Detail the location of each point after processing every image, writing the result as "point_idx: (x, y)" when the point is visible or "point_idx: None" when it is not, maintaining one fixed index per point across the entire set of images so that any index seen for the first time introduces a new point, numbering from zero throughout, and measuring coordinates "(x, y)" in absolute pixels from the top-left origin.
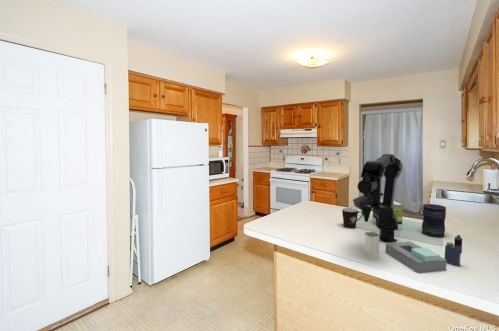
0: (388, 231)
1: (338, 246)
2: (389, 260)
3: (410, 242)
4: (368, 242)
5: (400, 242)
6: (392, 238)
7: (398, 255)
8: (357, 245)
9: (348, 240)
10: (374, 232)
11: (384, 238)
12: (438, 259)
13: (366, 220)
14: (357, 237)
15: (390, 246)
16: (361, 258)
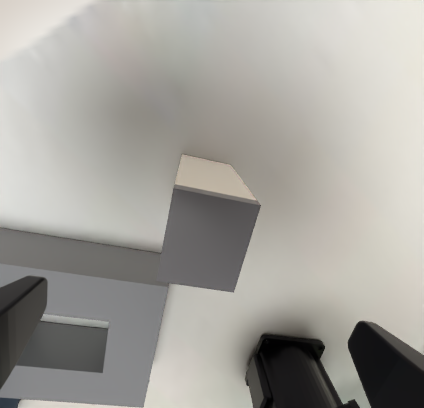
0: (274, 406)
1: (363, 50)
2: (82, 198)
3: (132, 400)
4: (197, 173)
5: (150, 363)
6: (251, 378)
7: (58, 253)
8: (306, 183)
9: (385, 187)
10: (220, 283)
11: (278, 353)
12: None
13: (367, 349)
14: (380, 262)
15: (123, 279)
16: (153, 56)
